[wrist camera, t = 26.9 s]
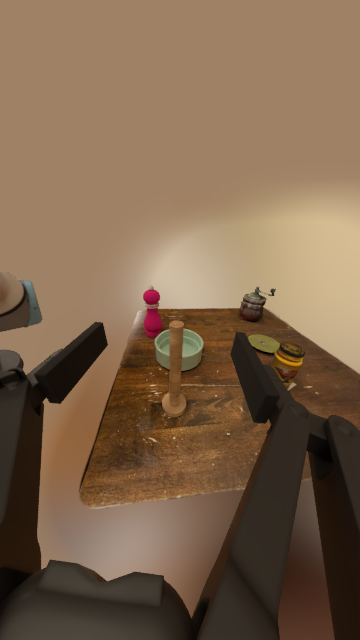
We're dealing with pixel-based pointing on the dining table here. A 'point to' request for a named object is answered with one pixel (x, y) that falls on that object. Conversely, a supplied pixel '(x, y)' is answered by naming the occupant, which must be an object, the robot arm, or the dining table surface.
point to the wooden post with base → (175, 372)
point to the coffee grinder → (253, 305)
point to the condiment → (287, 362)
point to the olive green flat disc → (264, 343)
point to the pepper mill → (152, 313)
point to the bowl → (189, 351)
